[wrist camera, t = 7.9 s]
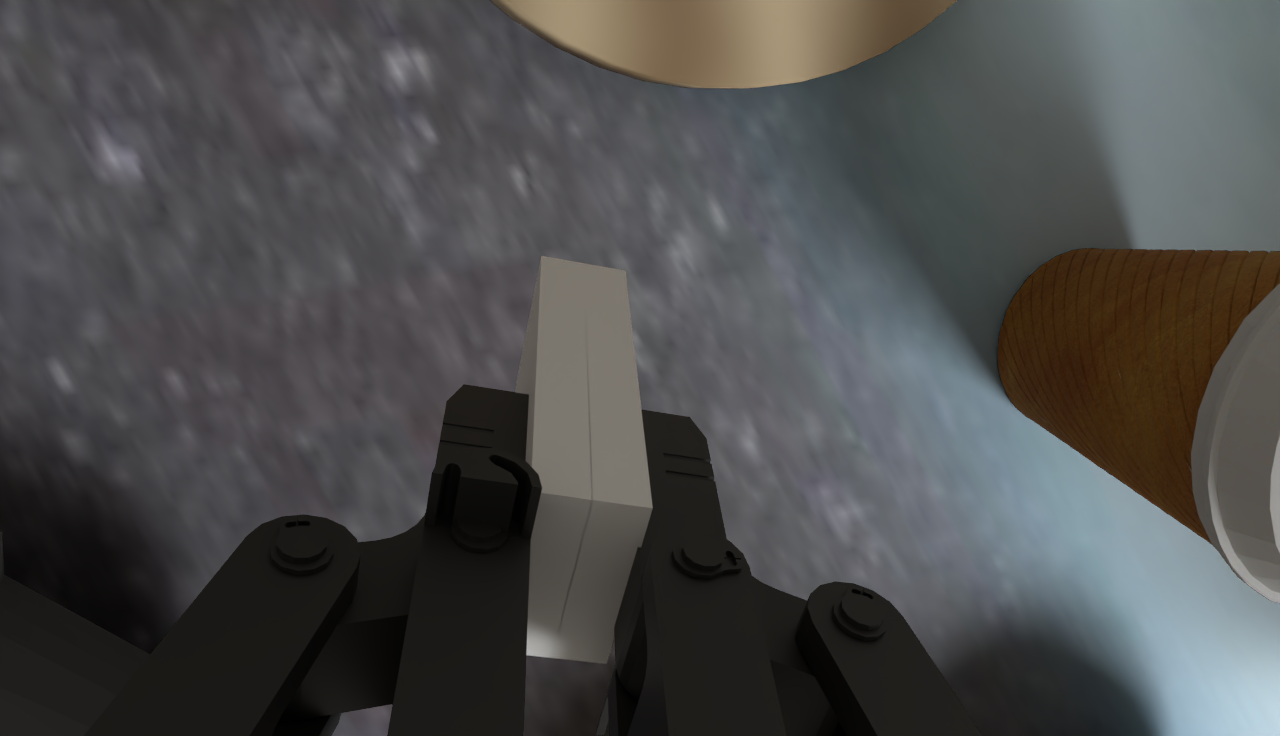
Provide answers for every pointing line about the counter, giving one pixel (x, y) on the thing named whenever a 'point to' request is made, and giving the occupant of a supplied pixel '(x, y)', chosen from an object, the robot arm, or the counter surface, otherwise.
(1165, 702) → the counter surface
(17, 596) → the wheel rim
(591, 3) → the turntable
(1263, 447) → the disposable coffee cup
